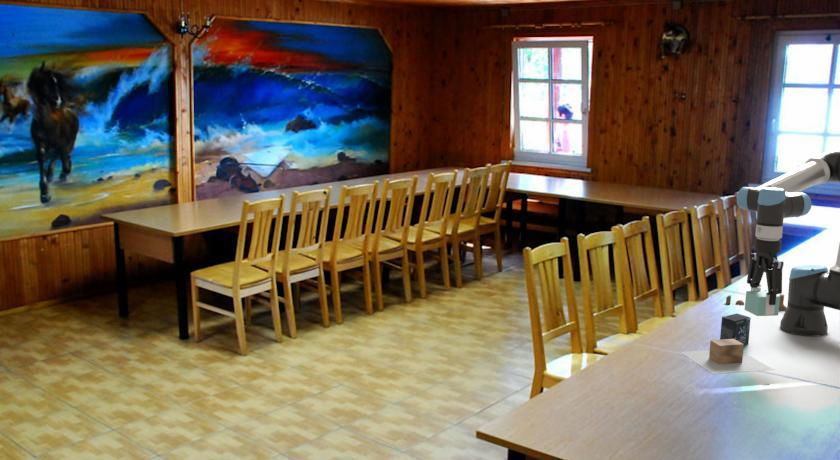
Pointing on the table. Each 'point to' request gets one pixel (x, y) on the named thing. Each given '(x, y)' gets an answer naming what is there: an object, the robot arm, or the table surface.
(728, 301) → the wooden blocks
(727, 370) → the board
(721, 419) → the table surface
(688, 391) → the table surface
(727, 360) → the base brick
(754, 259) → the robot arm
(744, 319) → the box
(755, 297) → the teal brick
